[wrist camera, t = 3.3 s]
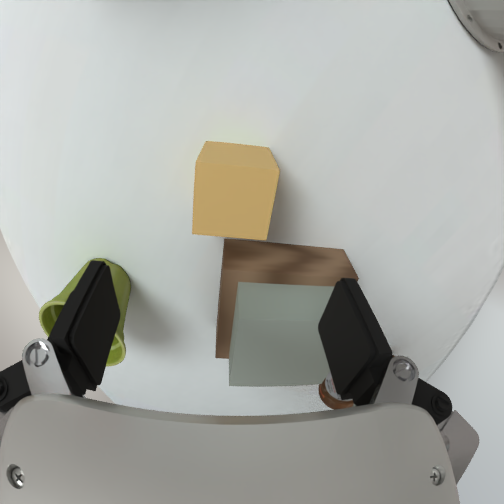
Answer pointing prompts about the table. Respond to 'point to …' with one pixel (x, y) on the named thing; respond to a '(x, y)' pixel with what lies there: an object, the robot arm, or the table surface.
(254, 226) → the ochre block
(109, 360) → the plant pot
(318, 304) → the tower top
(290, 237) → the table surface
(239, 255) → the tower base
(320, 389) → the tin
